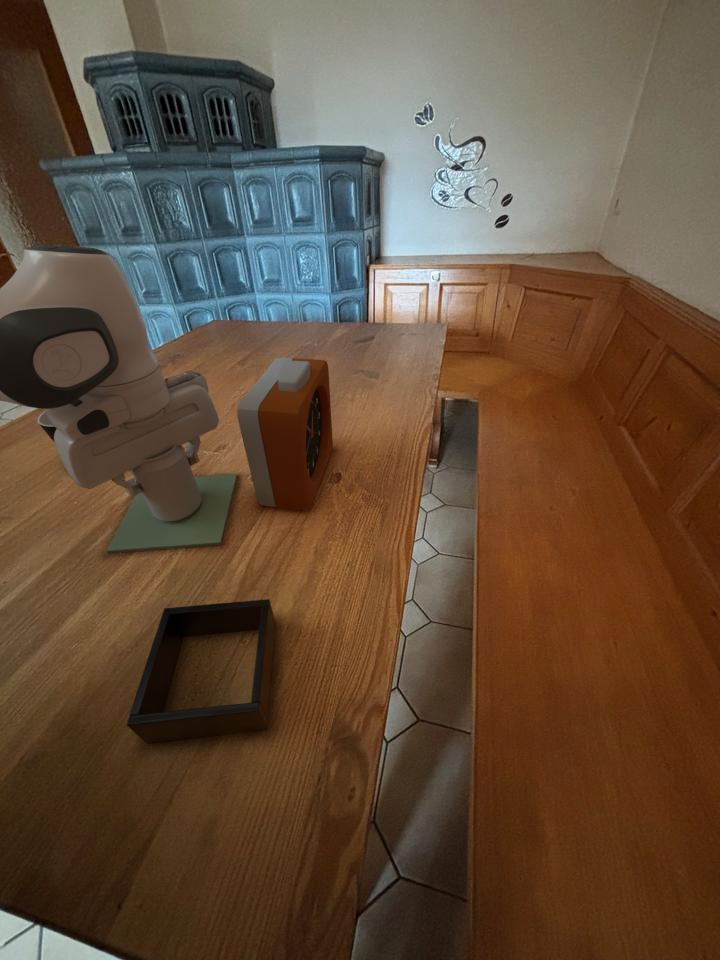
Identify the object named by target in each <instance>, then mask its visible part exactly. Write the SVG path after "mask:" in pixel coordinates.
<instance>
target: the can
mask: <svg viewBox="0 0 720 960" xmlns="http://www.w3.org/2000/svg"><path fill="white" fill-rule="evenodd" d="M185 452H186V451H185V448H184V447H183V445H181V446H178V447H176V445H174V446H173V447H172V449H171V450H169V451H167V452H165V453H164V454H162V455H159V456H157V457H155V458H151V459H145V460H143V462H144V463H143V464H141V465H139V466H137V467H135V468H133V469H131V470H130V472H131V474H132V476H133V479H134V480H135V481H136V482H137V483H139V485H140V489H142V494H143V496H144V498H145V500H146V502H147V504H148V506H149V508H150V510H151V512H152V514H153V516H154V517H155V518H157V519H159V520H163V521H177V520H182V519H184V518H186V517H188V516H190V515H191V514H192V513H193V512H194V511H195V510H196V509H197V508H198V507H199V505H200V503H201V495H200V492H199V489H198V486H197V484H196V481H195V478H194V472H193V471H192V468H191V466H190V464H189V462H188V459H187V456H186V453H185Z"/></svg>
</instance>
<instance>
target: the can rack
mask: <svg viewBox="0 0 720 960" xmlns="http://www.w3.org/2000/svg"><path fill="white" fill-rule="evenodd" d="M276 625H277V624H276V619H275V615H274V612H273V607H272V604H271V600H270V598H267V599H266V598H265V599H257V600H256V599H255V600H245V601H233V602H220V603H211V604H199V605H189V606H175V607H164V608H163V611H162V614H161V617H160V619H159V623H158V627H157V630H156V632H155V635H154V638H153V642H152V644H151V648H150V651H149V654H148V657H147V660H146V663H145V666H144V669H143V672H142V675H141V678H140V681H139V684H138V687H137V690H136V694H135V697H134V699H133V703H132V705H131V708H130V709H131V710H130V711H129V716H128V718H127V722H126V726H127V727H128V728H129V729H130V730H131V731H132V732H134V734H135V735H137V736H138V737H139V738H140V739H141V740H142V741H143V742H145V743H146V744H153V743H162V742H170V741H180V740H189V739H197V738H205V737H207V738H208V737H214V736H215V737H216V736H224V735H233V734H241V733H242V734H243V733H250V732H259V731H260V732H261V731H267V730H268V729H269V715H270V703H271V702H270V701H271V690H272V675H273V664H274V650H275V636H276ZM257 630H258V636H257V645H256V654H255V664H254V671H253V682H252V691H251V699H250V702H244V703H236V704H235V703H234V704H225V705H216V706H207V707H198V708H187V709H179V710H170V711H164V709H165V706H166V702H167V698H168V694H169V691H170V687H171V683H172V679H173V675H174V671H175V668H176V664H177V661H178V657H179V653H180V649H181V646H182V642H183V639H184V637H191V636H193V637H194V636H203V635H204V636H205V635H213V634H215V635H216V634H225V633H235V632H247V631H257Z"/></svg>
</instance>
